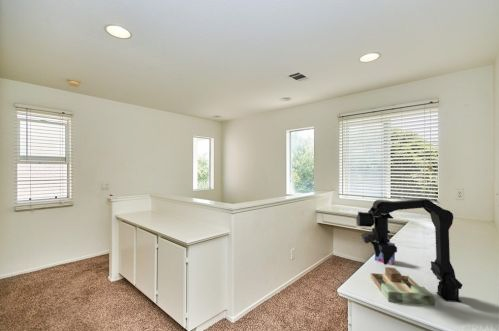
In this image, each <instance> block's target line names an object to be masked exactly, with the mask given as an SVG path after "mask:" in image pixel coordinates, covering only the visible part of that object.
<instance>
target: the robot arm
mask: <svg viewBox="0 0 499 331" xmlns="http://www.w3.org/2000/svg"><path fill="white" fill-rule="evenodd" d="M411 209H412V210H416V209H423V210H425V211H426V212H427V213H428V214H430V220H431V222H432V224H433V226H434V229H435V230H434V234H435V260H434V261H432V260H431V261H430V265H431V267H430V270H431V271H432V273H433V275H434V276H435V277H436V279H437V280H438V284H437V291H436V295H438V296H439V297H440V298H442V299H443V300H444V301H446V302H456V303H457V302H459V303H462V300H461V299H460V290H462V287H463V284H462V283H461V282H460V281H459V280H458V279H457V277H456V272H455V269H454V267H453V265H452V262H451V254H450V229H451V227H452V225H453V222H454V214H453V212H451V211H450V210H447V209H445V208H442V207H440V206H439V205H438V204H436V203H434V202H433V201H432V200H430V199H427V198H424V197H423V198H417V199H416V198H415V199H406V200H405V199H404V200H387V199H386V200H385V199H375V200H374V202H373V204H372V206H371V207H370V208H369V210H368V211H365V212H362V211H358V212H357V215H356V225H357V227H364V228H365V227H366V228H372V229H371V231H368V232H364V233H361V234H360V236H361V239H362V242H364V243H365V244H369V243H371V245H372V247H373V251H374V255H375V254H376V257H379V255H380V252H382V256H383V262H384V263H383V262H382V263H383V264H384V265H385V266H386V265H388V264H387V263H388V262H389V260H390V258H391V257H392V255H393V254H394V253H395V254H396V253H397V252H398V246H396V245H393V244H392V243H393V242H391V239H389V234H391V231H390V230H389V219H391V220H393V219H394V217H393V216H392V215H391V213H393V212H396V211H402V210H411ZM387 242H391V243H387Z"/></svg>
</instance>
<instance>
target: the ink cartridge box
mask: <svg viewBox="0 0 499 331" xmlns="http://www.w3.org/2000/svg"><path fill="white" fill-rule="evenodd" d="M387 243H392V244H393V245H395V243H394V242H391V241H390V242H387ZM395 246H396V245H395ZM395 256H396V252H395V253H394V254H393V255H392V257H391V258H390V260H389V262H388V263H387V265H390V266H393V265H394V264H396V260H395V259H396V258H395ZM374 261H377V262H380V263H383V264H384V262H383V256H382V252H380V255H379V257H376V254H375V253H374Z"/></svg>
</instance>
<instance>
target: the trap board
mask: <svg viewBox="0 0 499 331" xmlns="http://www.w3.org/2000/svg"><path fill="white" fill-rule="evenodd" d="M370 279H371V281H372V282H373V283H374V285H375V286H376V287H377V288H378V290H379V291H380V292H381V293H382V295H383V297H384V298H385V299H386V300H387V302H389V303H398V304H399V303H400V304H407V305H409V304H411V305H419V306H420V305H422V306H432V307H435V306H436V294H434V293H431V291H429V289H427V288H426V287H424V286H420V285H419V284H418V283H416V281H414V280H413V279H412V278H411V277H410V276H409V275H402V274H401V282H391V281H390V280H389V279H388V277H387V276H386V275H385V273H376V272H375V273H372V272H371V273H370Z"/></svg>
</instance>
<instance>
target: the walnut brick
mask: <svg viewBox="0 0 499 331" xmlns="http://www.w3.org/2000/svg"><path fill="white" fill-rule="evenodd" d="M384 271H385V272H384V274H385V275H386V276H387V277H388V279H389V280H390V281H391V282H401V275H402V273H401V272H400V271H399V270H397V269H396V267H385V268H384Z"/></svg>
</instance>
